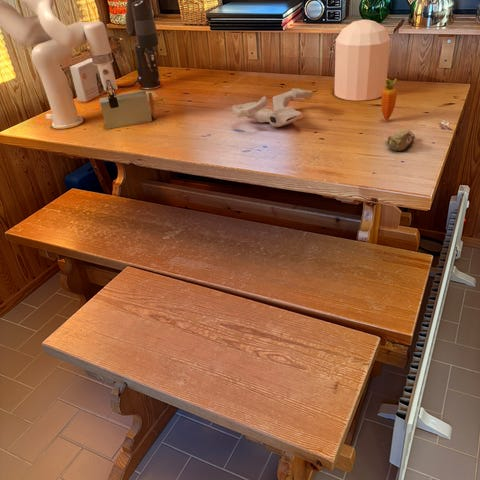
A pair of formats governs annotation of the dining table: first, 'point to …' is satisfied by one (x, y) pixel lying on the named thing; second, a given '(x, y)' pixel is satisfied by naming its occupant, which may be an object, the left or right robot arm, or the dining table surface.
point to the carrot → (388, 99)
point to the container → (361, 61)
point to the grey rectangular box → (126, 110)
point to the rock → (400, 140)
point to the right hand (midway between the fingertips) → (154, 78)
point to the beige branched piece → (280, 112)
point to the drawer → (155, 103)
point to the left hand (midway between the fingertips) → (114, 103)
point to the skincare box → (86, 80)
